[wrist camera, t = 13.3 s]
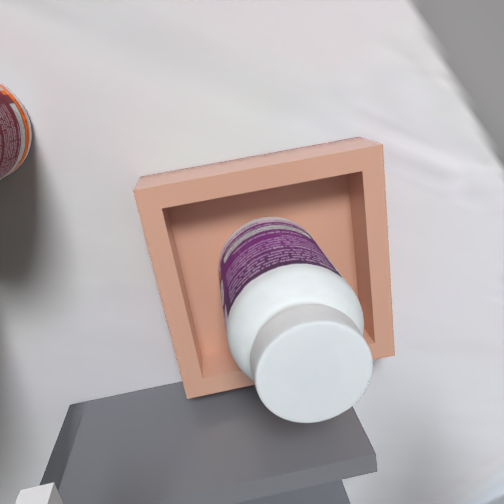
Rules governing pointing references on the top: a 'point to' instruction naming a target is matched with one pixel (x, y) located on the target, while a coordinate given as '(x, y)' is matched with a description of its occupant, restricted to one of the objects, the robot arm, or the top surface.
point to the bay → (203, 451)
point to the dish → (253, 207)
